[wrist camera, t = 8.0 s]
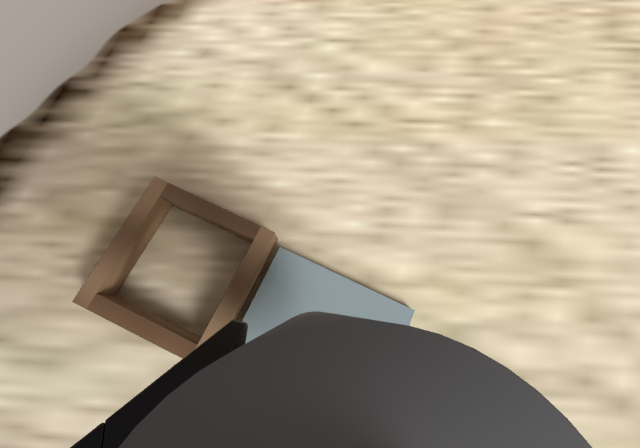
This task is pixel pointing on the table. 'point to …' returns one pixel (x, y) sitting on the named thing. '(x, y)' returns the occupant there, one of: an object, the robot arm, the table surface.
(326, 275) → the mat
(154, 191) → the brown square frame
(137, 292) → the table surface
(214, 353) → the robot arm
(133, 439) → the grey jar with lid
